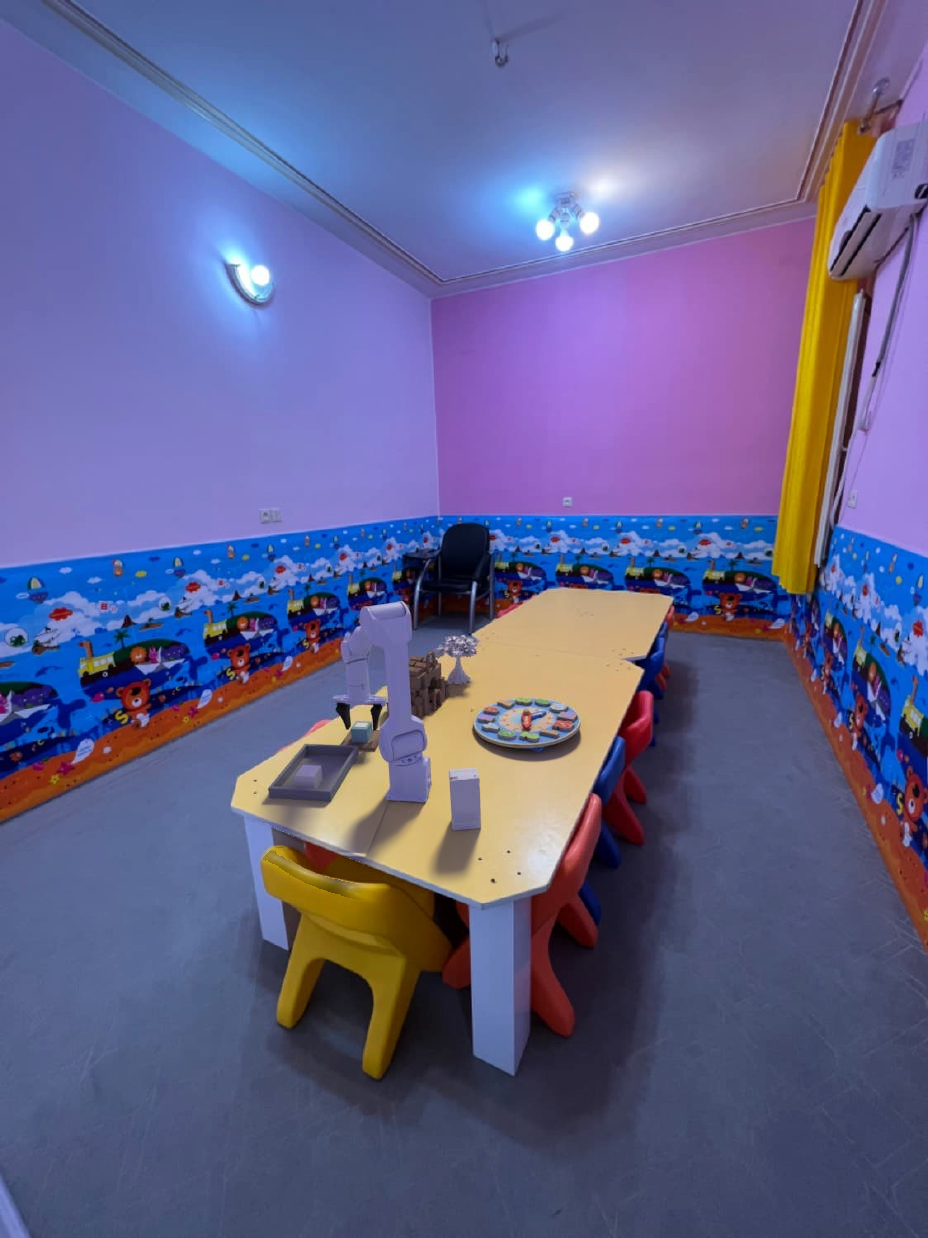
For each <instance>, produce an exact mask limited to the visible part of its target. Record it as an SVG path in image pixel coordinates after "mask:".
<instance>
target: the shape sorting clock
mask: <svg viewBox="0 0 928 1238" xmlns="http://www.w3.org/2000/svg"><path fill="white" fill-rule="evenodd" d="M581 723H582V722H581V717H580V715H579V713H578V712H577V711H576V709H574V708H573V707H571V706H569V705H567V704H566V703H562V702H559V701H556V700H553V699H548V698H542V697H541V698H539V697H516V698H511V699H507V700H501V699H499V700H498V701H497V702H496V703H492V704H489V705H488V706H485V707H484V708H483V709H481V710H479V712H477V713H476V715H475V716H474V719H473V728H474V731H475V733H476V734H477V736H479V737H480V738H482V739H483V740H485V741H487V742H489V743H492V744H494V745H498V746H502V747H507V748H515V749H526V748H527V750H528V751H529V750H530V751H533V752H536V753H541V751H542V750H544V749H545V747H548V746H552V745H555V744H559V743H561V742H563V741H566V740H568V739H570V738H571V737H572V738H573V736H574V735H575V734H576V733H577V732H579V730H580V729H581V725H582V724H581Z"/></svg>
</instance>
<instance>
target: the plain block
mask: <svg viewBox="0 0 928 1238" xmlns="http://www.w3.org/2000/svg"><path fill="white" fill-rule="evenodd" d="M322 781H323V778H322V769H321V766H317V765H303V766H302V767H301V768H300V769H299V771H298V772H297V773H296V775H295V782H296V788H315V789H317V788H318V787H319V785H320V784H321V782H322Z"/></svg>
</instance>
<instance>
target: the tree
mask: <svg viewBox="0 0 928 1238" xmlns="http://www.w3.org/2000/svg"><path fill="white" fill-rule="evenodd" d="M444 639H445V641H443V642H441V643H440V644H438V647H435V648H434V649H433V652H435V656H436V659H437V660H439V659H440V658H443V657H444V656H445V654H447V655H448V656H449V657H451V658H452V659H453V658H455V659H456V661H455V665H454V667H453V669H452V671H450V672H449V674H448V676H447V680H446V681H448V683H449V685H452V684H454V685H455V684H456V685H463V684H465V685H467V682H468V683H469V682H471V678H472V677H470V676H469V675H468V674H467V673H466V672H465V670H464V669H463V666H462V662H461V658H462V657H463V658H472V656H476V655H477V654H478V651H477V647H479V645H478V644H479V642H475V641H474V640H475V639H474V638H472V637H468V636H467V637H466V636H465V635H460V636H457V635H449V636H448V637H447V636H444Z"/></svg>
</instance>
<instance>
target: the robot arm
mask: <svg viewBox="0 0 928 1238" xmlns="http://www.w3.org/2000/svg"><path fill="white" fill-rule="evenodd" d="M359 623H360V626H356V627H355V629H354V631H353V632H352V633H351V636H350V637H349V639H348V640H341V643H340V654H341V657H342V660H343V661H344V665H345V673H346V683H347V684H346V685H347V694H343V695H342V694H341V695H334V696H333V697H332V699H331V700H332V706H336V707H335V712H336V713H337V714H338V716H339V717H340V719H341V720H342V722H343V724H344V727H345V730H346V731H350V730H349V729H351V728H352V721H351V720H352V719H351V706H372V707H371V708H370V710H369V712H370V714H371V720H372V721H371V722H372V730H373V731H376V730H378V727H379V721H380V717H381V713H382V710H383V708H385V707H387V702H388V707H389V715H388V718H387V719H386V720H385V721H384V722H383V724H382V725H381V726H380V727H379V730H380V737H379V745H378V750H379V754H380V755H381V756H380V757H381V758H382V759H383V760H384V761H385V762H386V763H388V765H387V766H388V778H389V787H388V789H387V791H386V794H385V797H384V799H385V800H388V801H393V802H395V801H396V802H409V803H410V802H411V803H413V802H414V803H426V802H427V800H428V797H429V794H430V790H431V787H432V783H433V781H432V766H431V763H432V761H431V758H430V756H427V755H423V752H425V751H426V750H427V747H428V736H427V733H426V729H425V724H424V723H423V720H422V719H421V718H417V717H416V716H413V715H412V714H411V698H410V681H409V664H408V660H409V651H408V649H409V647H408V643H409V641H410V640H411V639H412V638H413V633H412V632H413V629H412V627H413V626H412V625H413V624H412V614H411V611H410V610H409V608H408V605H407V604H406V603H405V602H404V601H402V600H398V601H396V602H391V603H384V604H382V603H381V604H377V605H371V606H367V605H365V606H362V607H361V610H360V611H359ZM372 646H374V647H377V648H380V649H383V651H384V661H385V662H384V663H385V677H386V679H385V680H386V689H387V690H386V692H387V693H386V694H387V696H379V695H375V694H371V692H370V680H369V679H370V678H369V666H370V663H371V662H370V658H371V648H372Z"/></svg>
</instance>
